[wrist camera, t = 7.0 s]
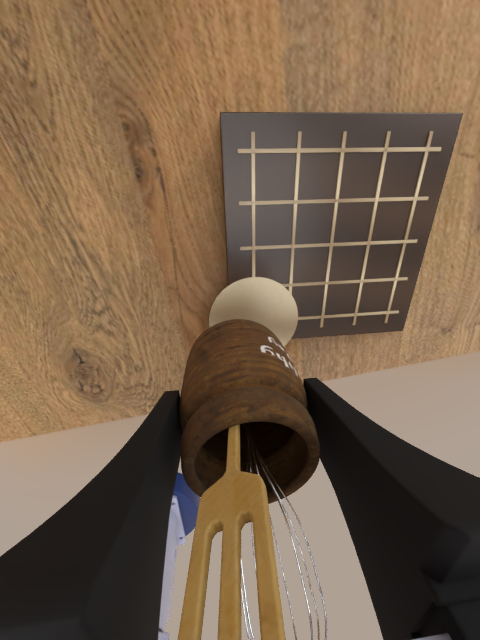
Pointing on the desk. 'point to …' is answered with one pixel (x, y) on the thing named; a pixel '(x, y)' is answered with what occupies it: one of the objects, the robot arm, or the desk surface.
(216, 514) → the utensil holder
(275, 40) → the desk surface
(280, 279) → the grid board
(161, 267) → the desk surface
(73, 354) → the desk surface
